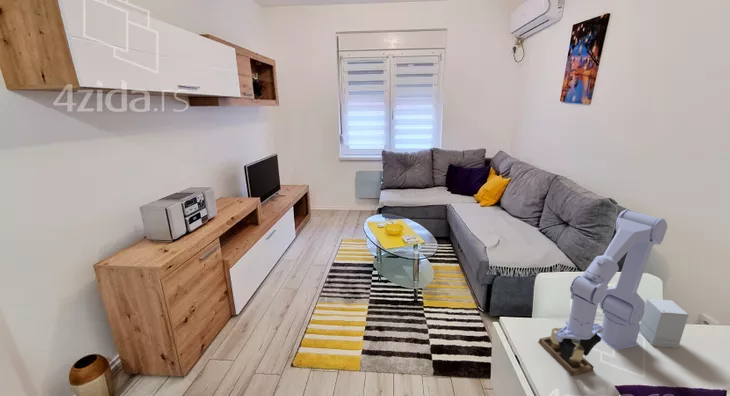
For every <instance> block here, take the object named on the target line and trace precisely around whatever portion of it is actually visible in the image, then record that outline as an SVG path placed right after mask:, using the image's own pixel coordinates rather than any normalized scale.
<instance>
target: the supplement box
mask: <svg viewBox="0 0 730 396" xmlns="http://www.w3.org/2000/svg"><path fill="white" fill-rule="evenodd" d="M688 317H689V313H688V312H686V310H684V309H683V308H682V307H680V306H679V305H678V304H677V303H676V302H674V301H673V300H671V299H655V298H654V299H652V298H647V299H646V301H645V308H644V315H643V318H642V319H641V321H640V322H639V323H640V330H639V332H640V334H641V333H642V334H643V335H642V334H641V335H642V336H643V337H644V338H645V339H646V340H647V342H648V343H649V344H650V345H651V346H654V347H663V348H664V347H665V348H673V349H678V348H679V347H680V343H681V340H682V337H683V335H684V330H685V327H686V323H687V321H688Z"/></svg>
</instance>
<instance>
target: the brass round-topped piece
mask: <svg viewBox="0 0 730 396" xmlns="http://www.w3.org/2000/svg"><path fill="white" fill-rule="evenodd" d="M559 330H561V329H559V328H558V327H554V328H552V329H551V333H550V336H551V339H550V345H549V346H550V347H551V348H552V349H553V350H554V351H555V352H561V349H560V345H559V342H558V340H556V339H555V338H554V335H555V332H557V331H559Z"/></svg>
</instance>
